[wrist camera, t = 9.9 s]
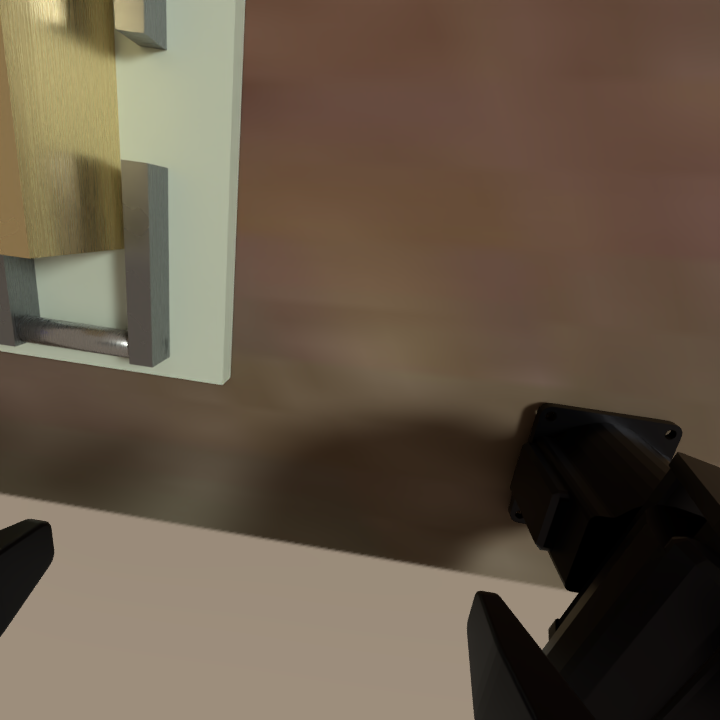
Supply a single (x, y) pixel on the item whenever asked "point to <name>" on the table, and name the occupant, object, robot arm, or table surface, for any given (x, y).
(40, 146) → the link bar
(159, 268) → the chain end links
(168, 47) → the base board
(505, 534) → the table surface
